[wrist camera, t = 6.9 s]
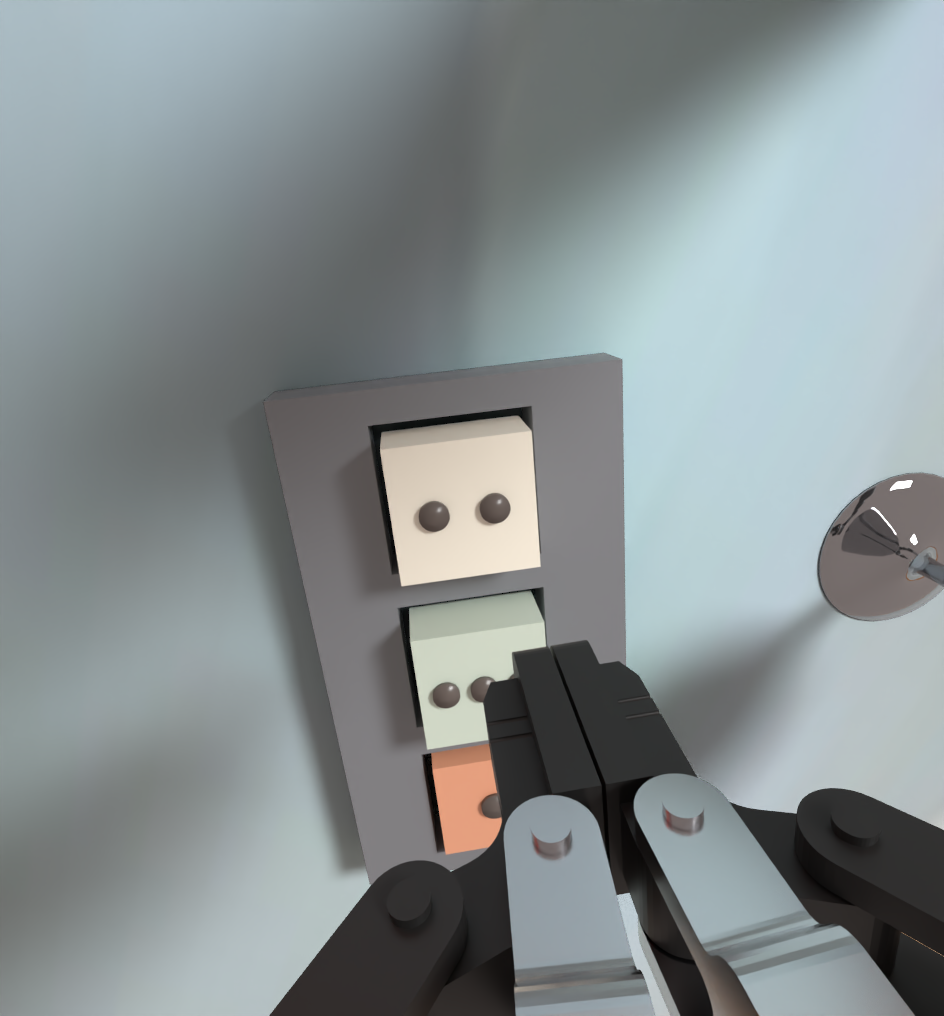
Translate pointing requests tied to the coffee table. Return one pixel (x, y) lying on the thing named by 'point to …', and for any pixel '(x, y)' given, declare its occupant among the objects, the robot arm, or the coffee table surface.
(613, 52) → the coffee table surface
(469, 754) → the terracotta button
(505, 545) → the cream button
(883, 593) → the wine glass
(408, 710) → the button board
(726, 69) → the coffee table surface
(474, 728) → the sage button
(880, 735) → the coffee table surface
